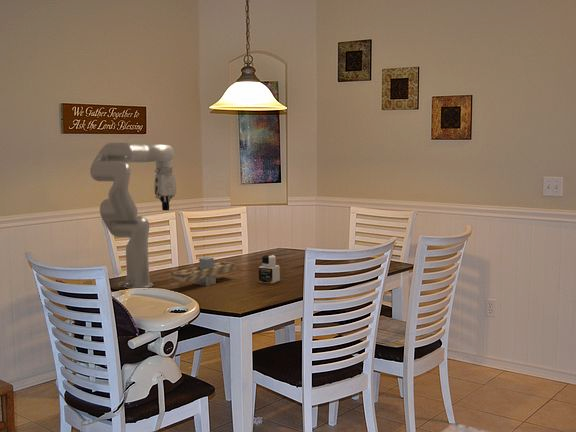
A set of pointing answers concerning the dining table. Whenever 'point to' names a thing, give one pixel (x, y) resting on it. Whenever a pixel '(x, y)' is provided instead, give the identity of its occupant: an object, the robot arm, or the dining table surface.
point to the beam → (202, 272)
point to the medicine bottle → (269, 270)
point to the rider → (206, 263)
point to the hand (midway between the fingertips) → (165, 210)
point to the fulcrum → (206, 280)
